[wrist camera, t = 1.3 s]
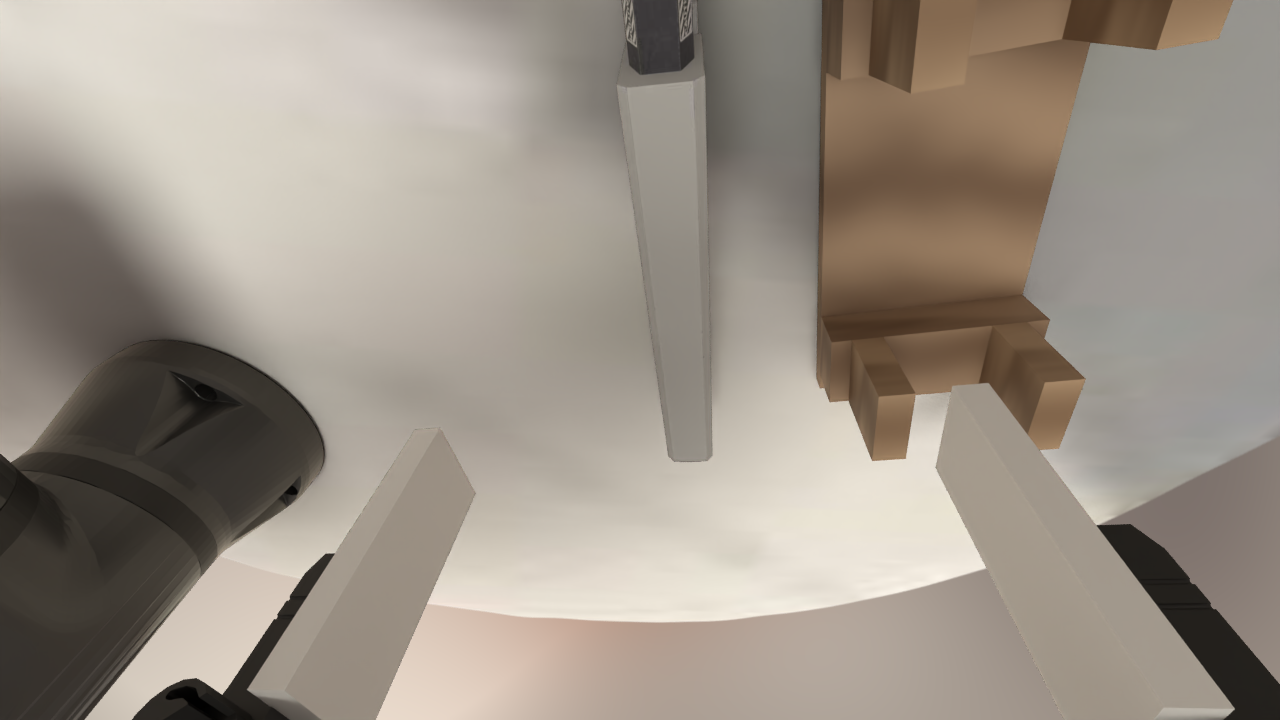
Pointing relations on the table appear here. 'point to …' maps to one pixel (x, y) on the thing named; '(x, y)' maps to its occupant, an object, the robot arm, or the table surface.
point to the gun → (671, 207)
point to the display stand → (953, 194)
